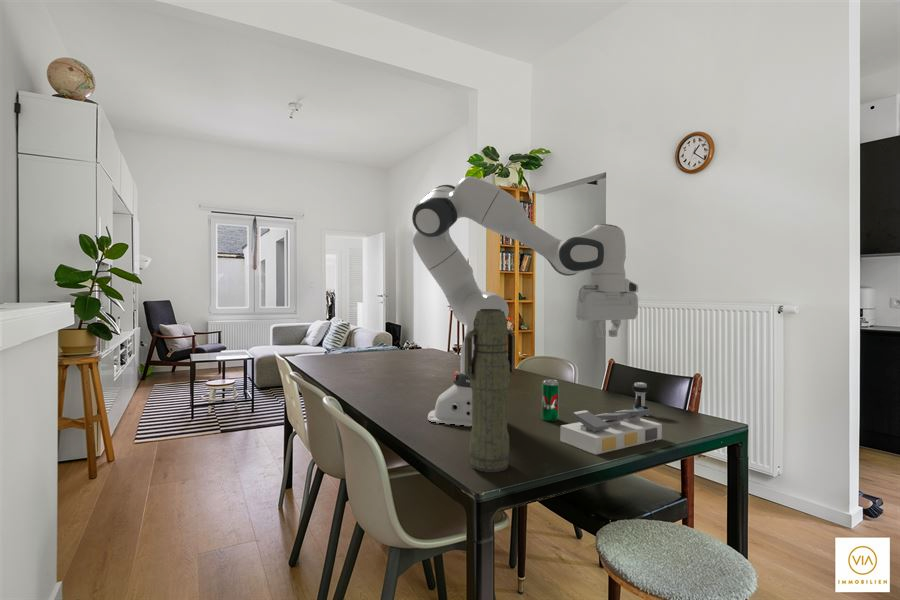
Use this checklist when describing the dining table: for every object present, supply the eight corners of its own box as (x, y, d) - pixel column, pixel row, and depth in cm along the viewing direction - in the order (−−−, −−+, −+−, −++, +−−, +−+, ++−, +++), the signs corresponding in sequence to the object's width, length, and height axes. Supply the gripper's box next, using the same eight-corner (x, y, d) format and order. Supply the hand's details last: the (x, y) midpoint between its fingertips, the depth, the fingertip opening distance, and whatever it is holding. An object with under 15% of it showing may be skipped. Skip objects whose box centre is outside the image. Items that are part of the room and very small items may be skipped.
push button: (655, 416, 147) (655, 385, 146) (640, 417, 145) (640, 386, 145) (642, 411, 153) (642, 381, 153) (627, 412, 152) (628, 381, 152)
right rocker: (638, 416, 122) (637, 411, 122) (614, 416, 129) (613, 411, 129) (650, 413, 125) (649, 408, 125) (626, 414, 131) (625, 409, 132)
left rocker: (594, 431, 114) (595, 427, 114) (571, 416, 121) (572, 412, 121) (608, 428, 117) (609, 424, 117) (585, 414, 124) (586, 409, 123)
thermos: (456, 463, 105) (457, 308, 105) (498, 454, 111) (500, 308, 111) (477, 476, 98) (478, 310, 97) (522, 466, 103) (523, 309, 103)
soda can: (559, 418, 144) (559, 379, 144) (557, 422, 139) (558, 382, 139) (542, 416, 146) (543, 378, 145) (540, 421, 141) (540, 381, 141)
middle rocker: (617, 420, 118) (616, 414, 118) (594, 420, 125) (593, 415, 125) (630, 417, 121) (629, 412, 121) (607, 417, 127) (606, 413, 128)
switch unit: (596, 455, 111) (596, 433, 111) (560, 440, 122) (560, 421, 122) (662, 439, 124) (662, 420, 124) (624, 427, 134) (624, 410, 134)
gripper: (589, 284, 117) (588, 339, 117) (642, 285, 127) (641, 336, 127) (570, 285, 122) (570, 337, 122) (623, 286, 132) (622, 334, 132)
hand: (607, 337), depth 125 cm, fingers open, 3 cm apart
